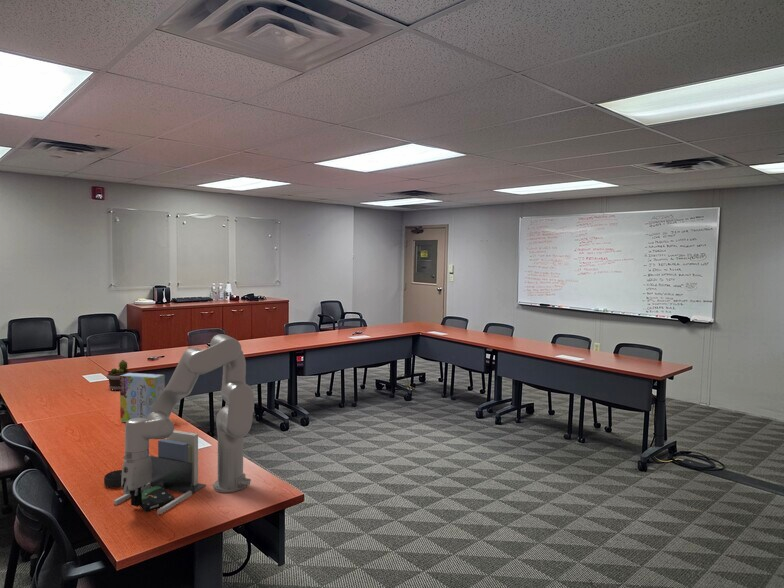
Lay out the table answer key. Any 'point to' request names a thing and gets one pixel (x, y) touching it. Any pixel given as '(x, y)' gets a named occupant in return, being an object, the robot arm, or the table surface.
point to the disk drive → (155, 498)
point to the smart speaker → (113, 479)
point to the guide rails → (161, 507)
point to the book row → (181, 450)
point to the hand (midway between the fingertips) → (136, 504)
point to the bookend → (173, 475)
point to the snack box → (139, 394)
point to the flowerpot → (117, 375)
